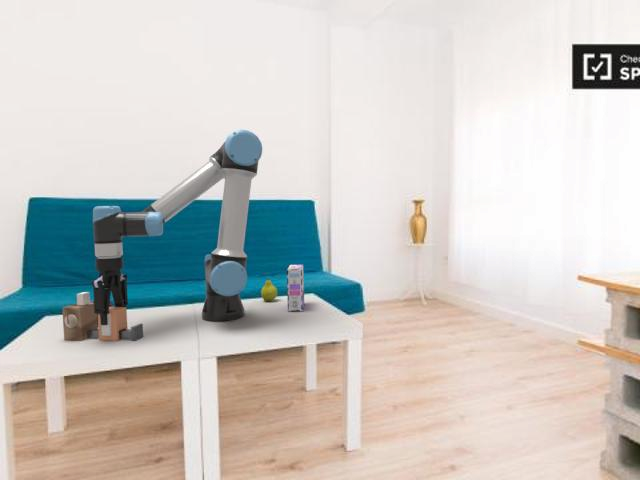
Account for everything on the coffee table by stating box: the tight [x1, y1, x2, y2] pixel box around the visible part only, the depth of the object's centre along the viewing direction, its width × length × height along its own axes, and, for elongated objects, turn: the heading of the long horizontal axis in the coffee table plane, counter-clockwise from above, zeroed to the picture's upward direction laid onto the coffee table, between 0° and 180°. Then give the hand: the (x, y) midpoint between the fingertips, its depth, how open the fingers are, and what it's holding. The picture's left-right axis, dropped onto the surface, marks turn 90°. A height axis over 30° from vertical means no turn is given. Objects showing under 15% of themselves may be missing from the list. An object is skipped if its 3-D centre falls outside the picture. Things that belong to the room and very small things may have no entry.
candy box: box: [286, 264, 305, 312], centre depth 162 cm, size 14×6×16 cm, turn 179°
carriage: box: [97, 306, 128, 342], centre depth 127 cm, size 6×5×9 cm
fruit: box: [260, 273, 278, 302], centre depth 176 cm, size 7×7×12 cm
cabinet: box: [62, 302, 98, 342], centre depth 128 cm, size 6×8×10 cm
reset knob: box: [76, 291, 91, 305], centre depth 128 cm, size 2×3×4 cm, turn 171°
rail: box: [87, 323, 144, 342], centre depth 127 cm, size 18×4×4 cm, turn 81°
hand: (113, 332), depth 127 cm, fingers closed on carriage, 5 cm apart
